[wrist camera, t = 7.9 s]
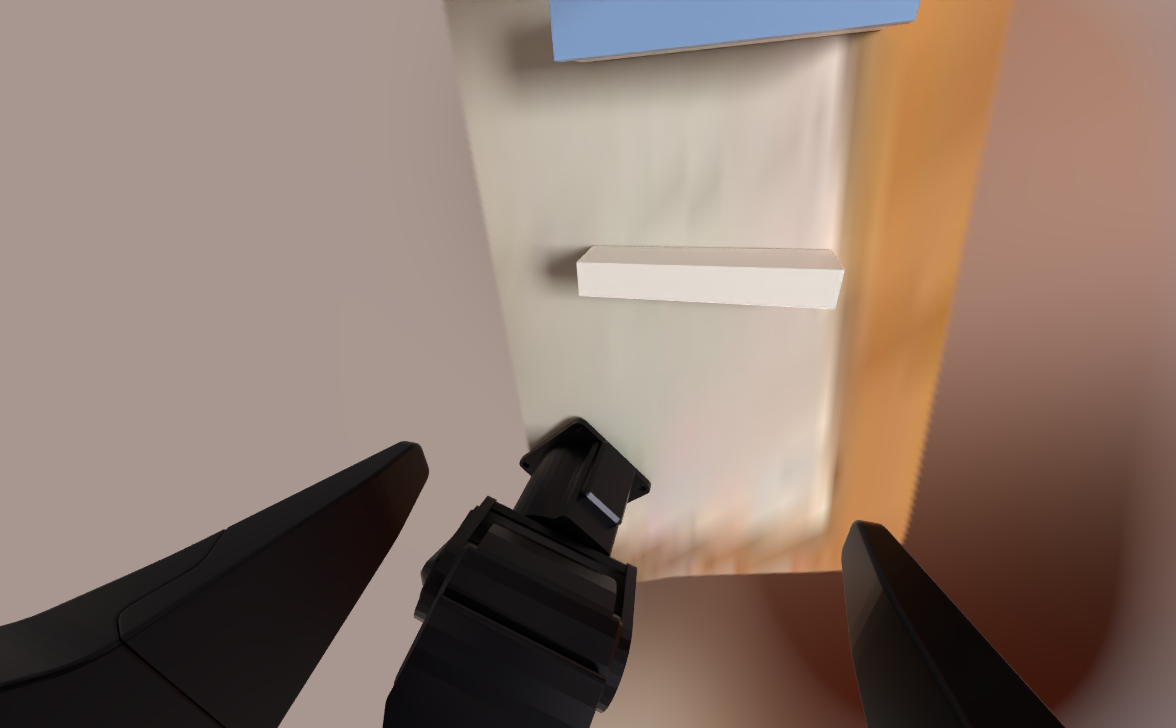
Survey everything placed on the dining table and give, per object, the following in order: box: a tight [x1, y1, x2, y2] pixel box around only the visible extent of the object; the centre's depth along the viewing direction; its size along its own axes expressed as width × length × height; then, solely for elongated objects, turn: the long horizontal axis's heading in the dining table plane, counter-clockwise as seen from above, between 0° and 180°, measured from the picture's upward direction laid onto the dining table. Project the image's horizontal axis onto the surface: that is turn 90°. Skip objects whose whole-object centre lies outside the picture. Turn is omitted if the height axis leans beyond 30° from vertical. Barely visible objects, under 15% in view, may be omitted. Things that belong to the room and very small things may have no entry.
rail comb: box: [549, 0, 920, 309], centre depth 13 cm, size 19×10×3 cm, turn 4°
